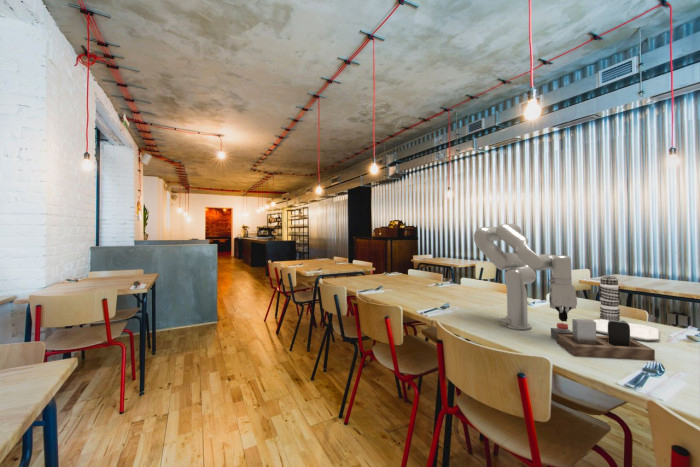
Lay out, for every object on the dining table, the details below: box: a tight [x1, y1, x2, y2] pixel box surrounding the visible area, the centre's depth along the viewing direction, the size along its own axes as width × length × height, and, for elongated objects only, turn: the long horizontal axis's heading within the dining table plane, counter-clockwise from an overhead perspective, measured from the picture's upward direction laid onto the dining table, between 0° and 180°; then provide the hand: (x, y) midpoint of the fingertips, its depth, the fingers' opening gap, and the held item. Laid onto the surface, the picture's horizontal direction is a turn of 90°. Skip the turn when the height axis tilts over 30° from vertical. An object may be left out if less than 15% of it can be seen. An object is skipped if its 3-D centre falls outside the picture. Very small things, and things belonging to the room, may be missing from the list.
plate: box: [593, 318, 660, 342], centre depth 150 cm, size 25×25×2 cm
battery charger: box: [607, 320, 630, 347], centre depth 127 cm, size 7×4×11 cm, turn 53°
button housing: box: [550, 327, 573, 340], centre depth 142 cm, size 7×7×4 cm
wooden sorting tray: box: [555, 318, 656, 361], centre depth 128 cm, size 28×15×12 cm, turn 79°
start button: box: [556, 322, 569, 329], centre depth 142 cm, size 4×4×2 cm
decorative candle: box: [598, 275, 621, 321], centre depth 168 cm, size 9×9×25 cm
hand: (563, 320), depth 142 cm, fingers closed
